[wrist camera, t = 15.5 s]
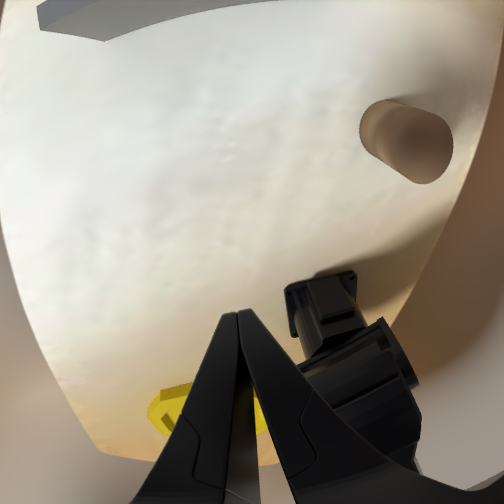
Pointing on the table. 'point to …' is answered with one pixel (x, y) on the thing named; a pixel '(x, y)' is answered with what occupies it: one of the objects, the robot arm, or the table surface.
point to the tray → (117, 14)
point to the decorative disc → (170, 405)
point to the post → (407, 140)
